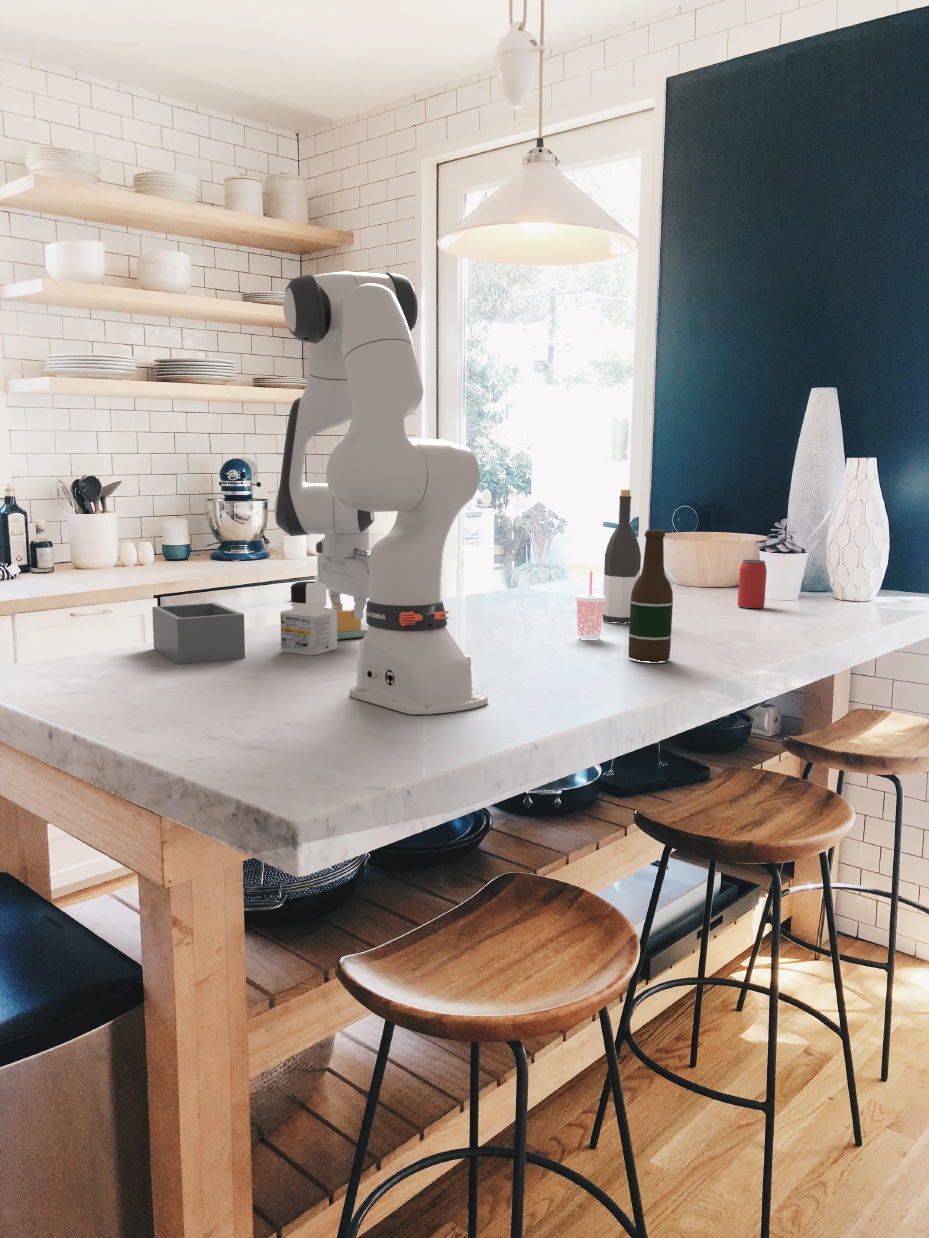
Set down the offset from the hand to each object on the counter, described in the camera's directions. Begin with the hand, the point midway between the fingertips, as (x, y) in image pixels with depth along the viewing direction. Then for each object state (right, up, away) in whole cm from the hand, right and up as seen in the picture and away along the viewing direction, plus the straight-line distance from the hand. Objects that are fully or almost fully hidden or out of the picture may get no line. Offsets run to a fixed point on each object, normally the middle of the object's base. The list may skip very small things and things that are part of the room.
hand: (347, 615), depth 195 cm
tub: (-25, -7, -17) cm, 31 cm away
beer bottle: (+58, -9, -17) cm, 61 cm away
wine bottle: (+60, -2, +26) cm, 65 cm away
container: (-6, -7, -13) cm, 15 cm away
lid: (-3, -3, +6) cm, 7 cm away
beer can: (+97, +2, +51) cm, 110 cm away
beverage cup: (+49, -5, +3) cm, 50 cm away
